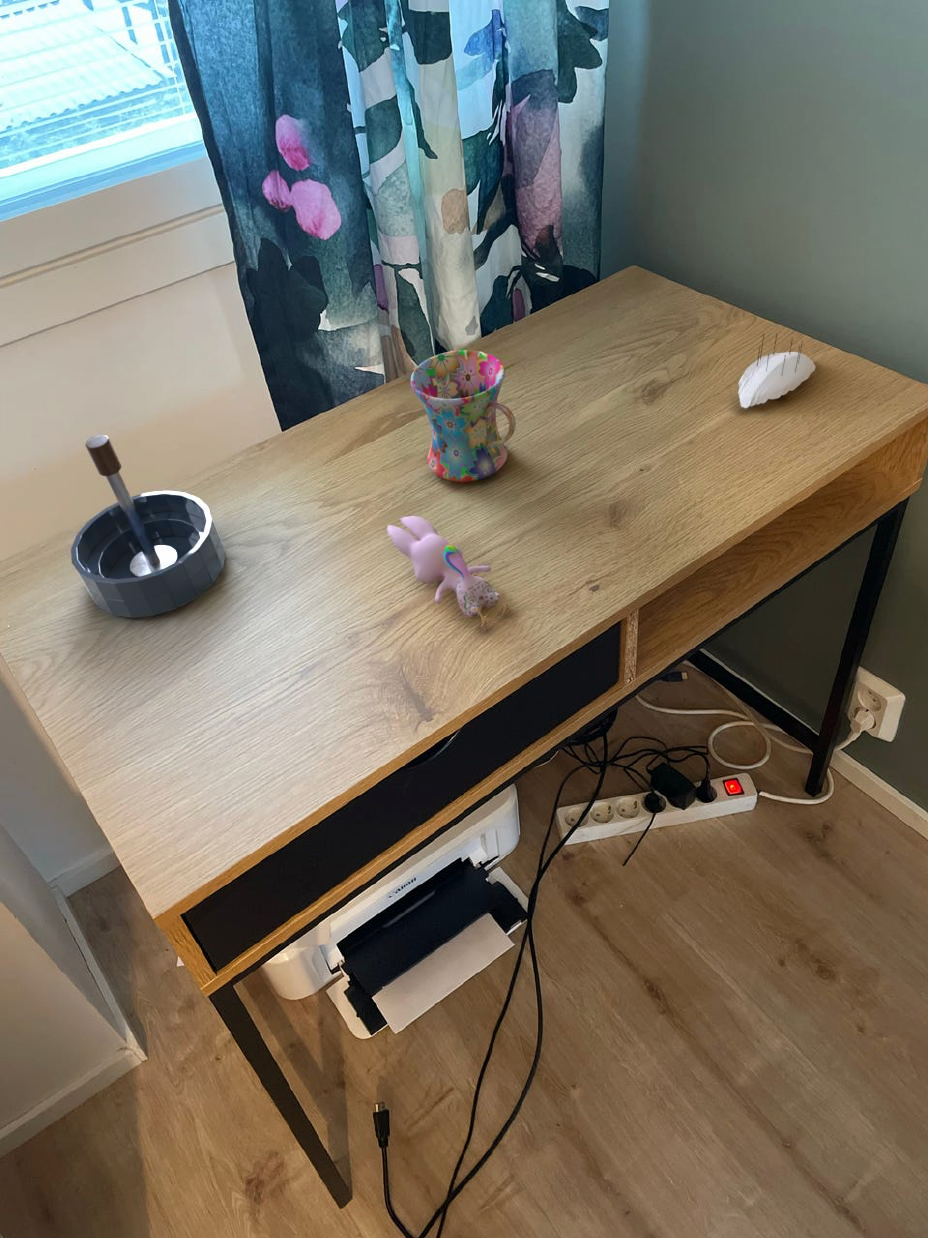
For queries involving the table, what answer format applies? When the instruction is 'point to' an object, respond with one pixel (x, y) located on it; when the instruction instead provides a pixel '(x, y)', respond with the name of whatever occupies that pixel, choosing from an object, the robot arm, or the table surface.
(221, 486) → the table surface
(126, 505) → the wood-topped metal stand
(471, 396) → the mug
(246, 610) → the table surface
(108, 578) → the bowl
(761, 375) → the pincushion
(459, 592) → the rabbit figure
